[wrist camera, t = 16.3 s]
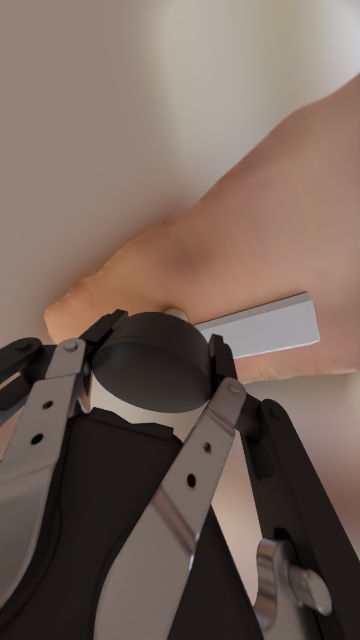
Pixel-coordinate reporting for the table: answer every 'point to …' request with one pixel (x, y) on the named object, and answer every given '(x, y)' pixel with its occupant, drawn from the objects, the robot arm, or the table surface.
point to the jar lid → (156, 363)
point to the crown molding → (267, 327)
